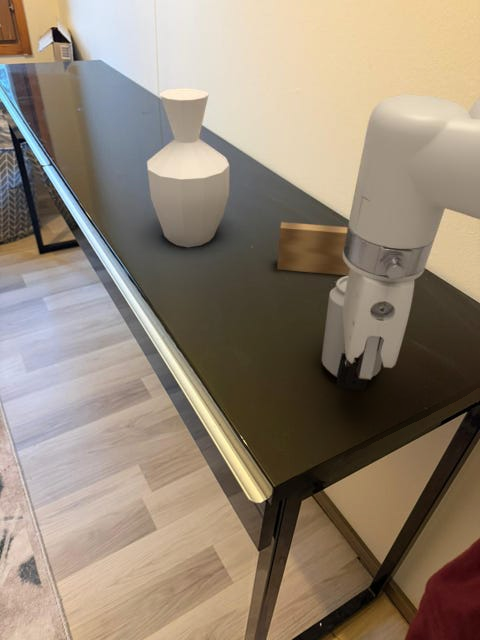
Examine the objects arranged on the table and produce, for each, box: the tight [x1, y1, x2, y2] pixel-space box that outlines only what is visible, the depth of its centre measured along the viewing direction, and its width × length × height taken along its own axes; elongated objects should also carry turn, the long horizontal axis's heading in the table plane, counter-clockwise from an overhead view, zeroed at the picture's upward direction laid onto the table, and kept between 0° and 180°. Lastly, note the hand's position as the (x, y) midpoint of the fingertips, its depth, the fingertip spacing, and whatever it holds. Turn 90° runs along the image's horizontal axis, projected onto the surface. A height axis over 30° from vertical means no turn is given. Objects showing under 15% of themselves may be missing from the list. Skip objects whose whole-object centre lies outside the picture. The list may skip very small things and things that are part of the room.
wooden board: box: [276, 221, 350, 276], centre depth 76 cm, size 16×2×8 cm, turn 82°
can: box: [321, 275, 383, 378], centre depth 56 cm, size 8×8×12 cm
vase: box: [146, 87, 230, 248], centre depth 79 cm, size 14×14×25 cm
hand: (350, 383), depth 53 cm, fingers closed
